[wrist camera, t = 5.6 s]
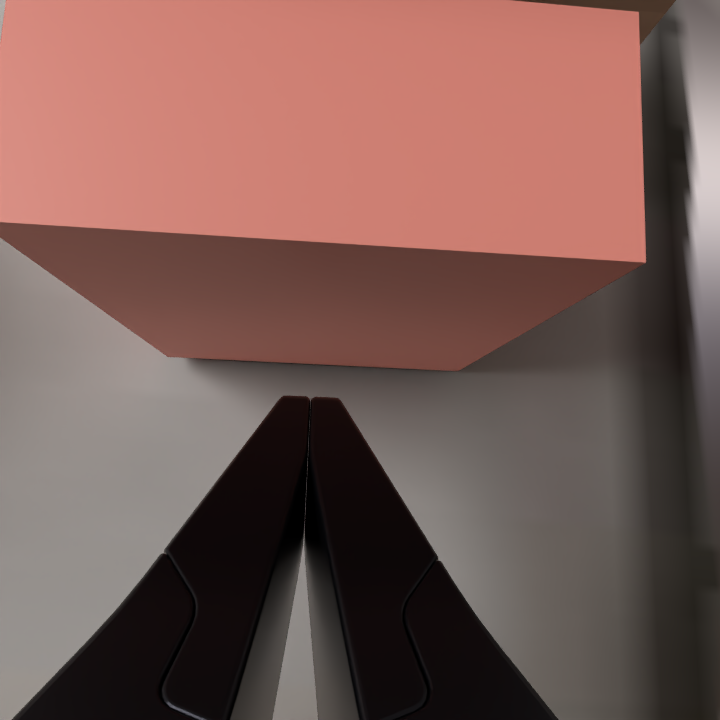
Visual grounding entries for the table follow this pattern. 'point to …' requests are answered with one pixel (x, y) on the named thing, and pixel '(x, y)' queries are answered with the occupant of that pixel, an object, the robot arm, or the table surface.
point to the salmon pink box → (324, 169)
